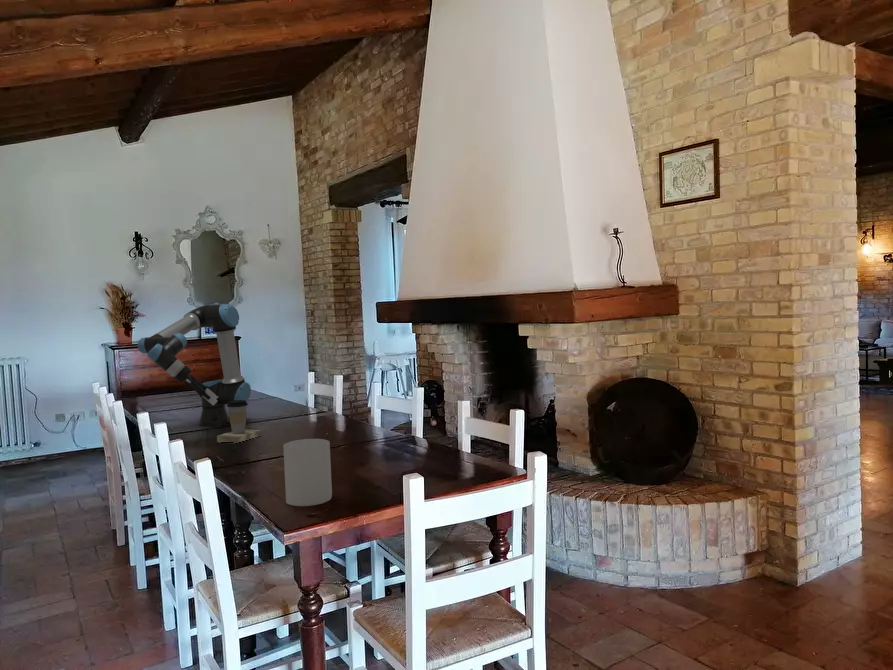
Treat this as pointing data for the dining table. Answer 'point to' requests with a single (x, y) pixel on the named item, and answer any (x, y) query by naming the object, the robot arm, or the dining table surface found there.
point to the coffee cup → (237, 415)
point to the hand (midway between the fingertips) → (216, 401)
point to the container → (307, 472)
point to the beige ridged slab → (238, 436)
